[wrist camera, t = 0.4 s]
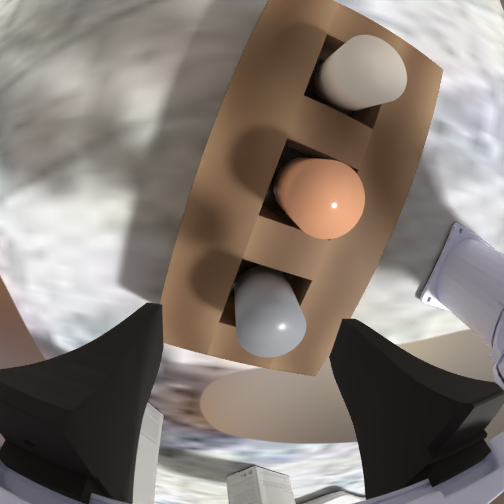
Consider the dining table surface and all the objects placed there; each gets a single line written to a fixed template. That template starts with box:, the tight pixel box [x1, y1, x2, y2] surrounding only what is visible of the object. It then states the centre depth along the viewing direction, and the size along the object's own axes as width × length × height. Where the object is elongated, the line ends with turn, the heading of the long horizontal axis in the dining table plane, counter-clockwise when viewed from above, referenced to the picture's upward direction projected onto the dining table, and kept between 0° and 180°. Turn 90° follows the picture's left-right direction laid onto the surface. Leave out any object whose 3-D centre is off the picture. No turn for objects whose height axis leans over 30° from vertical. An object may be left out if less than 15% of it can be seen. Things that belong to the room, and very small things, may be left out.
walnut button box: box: [160, 0, 443, 376], centre depth 17 cm, size 12×24×4 cm, turn 160°
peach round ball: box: [274, 158, 365, 239], centre depth 14 cm, size 4×4×4 cm
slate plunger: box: [234, 266, 306, 357], centre depth 16 cm, size 4×4×4 cm
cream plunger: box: [314, 35, 407, 112], centre depth 12 cm, size 4×4×4 cm
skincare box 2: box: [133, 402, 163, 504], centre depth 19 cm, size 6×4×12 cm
